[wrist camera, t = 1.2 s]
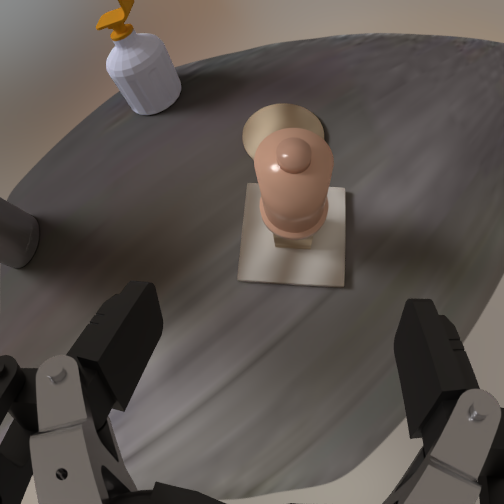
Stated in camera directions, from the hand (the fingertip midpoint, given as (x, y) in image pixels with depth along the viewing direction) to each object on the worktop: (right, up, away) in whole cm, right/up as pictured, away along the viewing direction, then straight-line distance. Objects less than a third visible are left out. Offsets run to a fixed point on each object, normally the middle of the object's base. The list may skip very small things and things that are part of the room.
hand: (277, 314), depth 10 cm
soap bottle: (-16, +27, +38) cm, 49 cm away
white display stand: (+4, +4, +29) cm, 29 cm away
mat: (+4, +18, +32) cm, 37 cm away
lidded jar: (+3, +6, +21) cm, 22 cm away
